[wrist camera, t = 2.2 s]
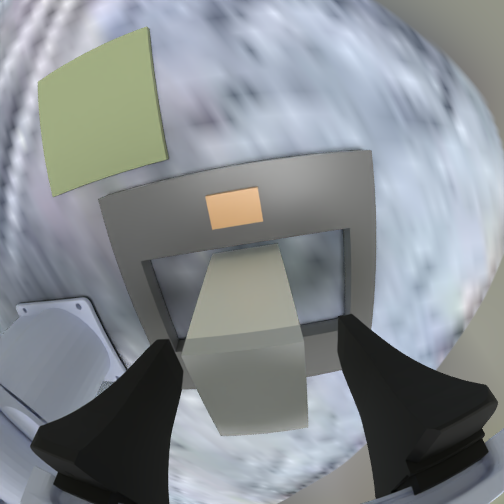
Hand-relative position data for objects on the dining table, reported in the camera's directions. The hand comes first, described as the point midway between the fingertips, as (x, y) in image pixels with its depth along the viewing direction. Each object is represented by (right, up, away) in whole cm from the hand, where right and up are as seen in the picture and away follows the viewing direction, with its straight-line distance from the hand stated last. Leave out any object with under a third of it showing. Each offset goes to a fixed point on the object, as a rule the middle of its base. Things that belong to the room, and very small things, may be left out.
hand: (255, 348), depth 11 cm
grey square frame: (0, +2, +5) cm, 5 cm away
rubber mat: (-9, +12, +1) cm, 15 cm away
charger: (0, +2, +5) cm, 5 cm away
